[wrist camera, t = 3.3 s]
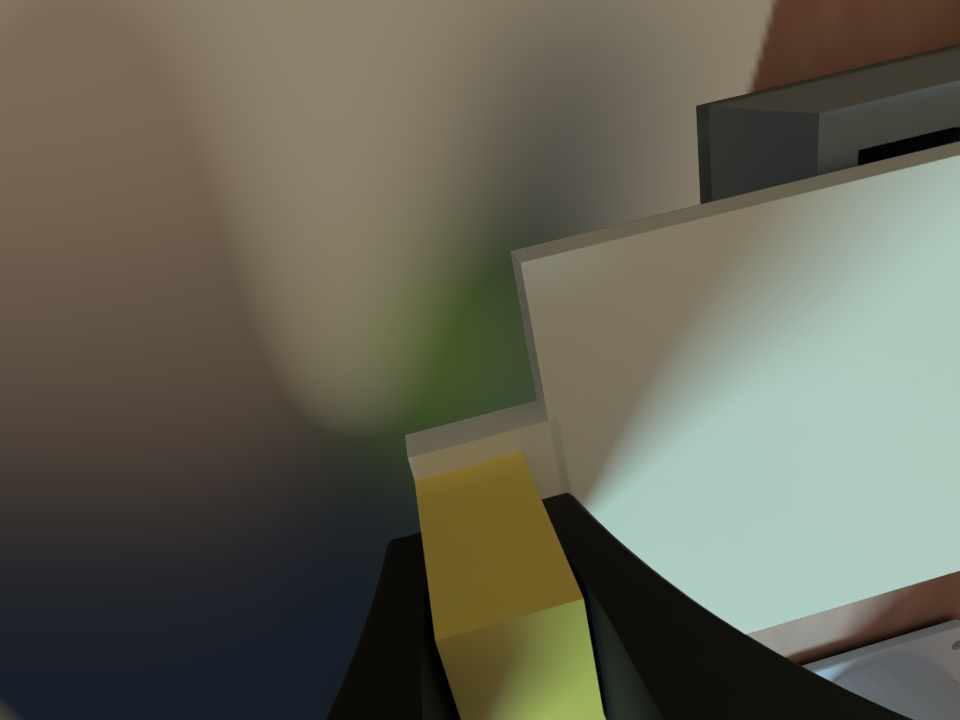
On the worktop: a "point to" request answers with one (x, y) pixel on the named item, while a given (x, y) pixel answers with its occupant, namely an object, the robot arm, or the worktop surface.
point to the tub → (823, 122)
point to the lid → (709, 424)
